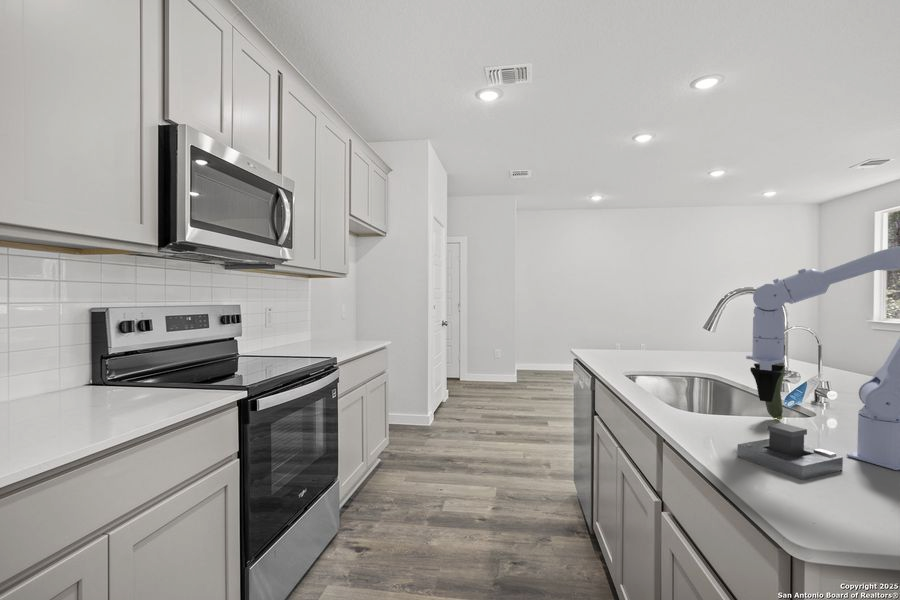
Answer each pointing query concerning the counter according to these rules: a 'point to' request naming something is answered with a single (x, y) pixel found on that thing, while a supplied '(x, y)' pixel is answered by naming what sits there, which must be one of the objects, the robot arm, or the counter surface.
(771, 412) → the vegetable
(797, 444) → the plug
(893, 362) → the robot arm
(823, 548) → the counter surface
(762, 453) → the socket plate
